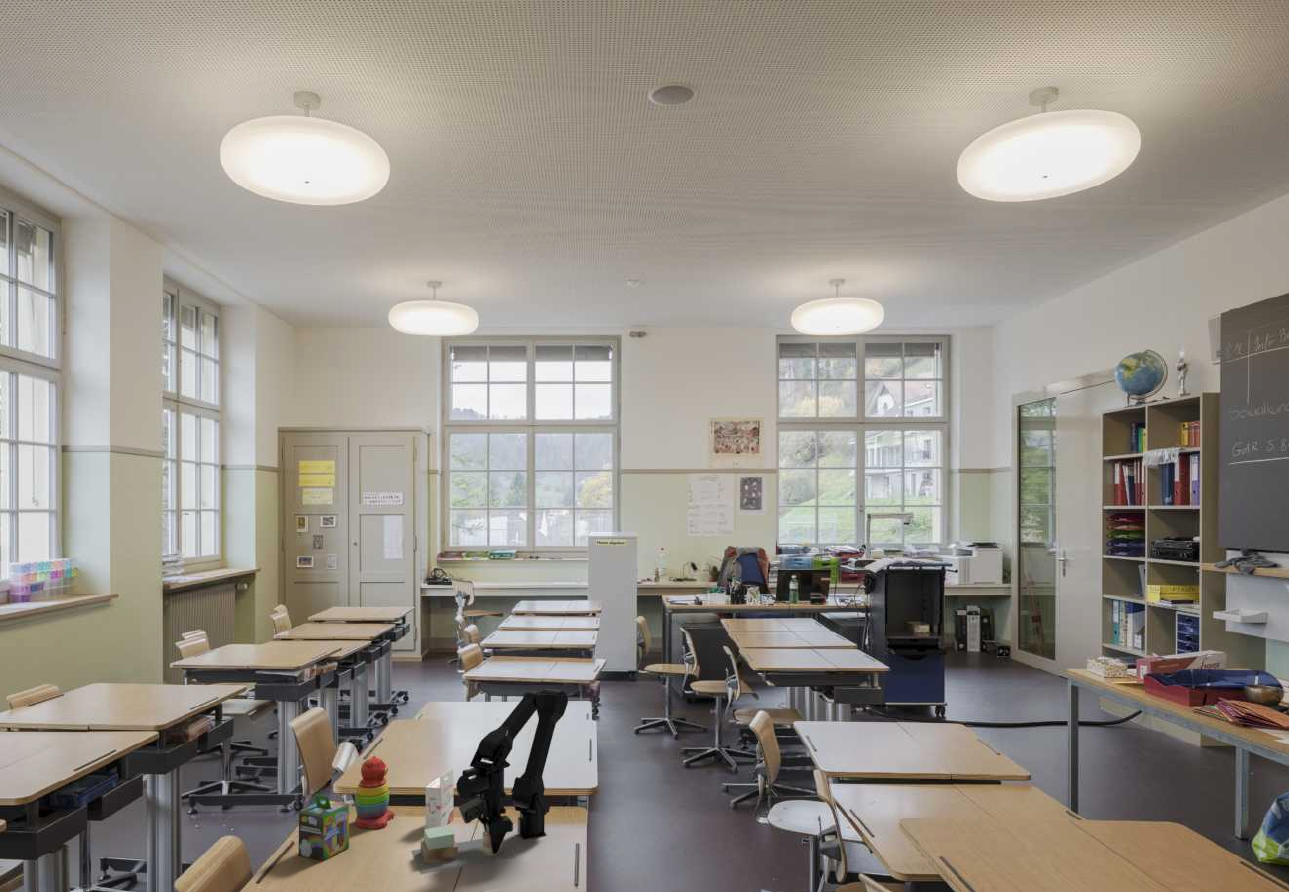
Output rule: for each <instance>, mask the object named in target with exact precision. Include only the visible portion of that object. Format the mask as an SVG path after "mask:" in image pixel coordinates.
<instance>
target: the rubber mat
mask: <svg viewBox="0 0 1289 892" xmlns="http://www.w3.org/2000/svg"><path fill="white" fill-rule="evenodd" d="M455 843H456V844H457V846H458V859H454V860H448V861H442V862H437V863H431V864H425V862H424V860H423V857H422V855H421V848H420V849H413V850H411V853H412V855H413V856H412V857H413V858H414V861H415V863H416V866H417V868H418V871H419V873H420V875H424V874H429V873H434V872H435V873H436V872H439V871H440V872H441V871H446V870H450V869H451V870H452V869H458V868H462V867H466V866H467V867H469V866H473V865H474V866H475V865H479V864H485V863H490V862H496V861H501V860H506V859H512V858H517V856H516V854H515V852H513V850H512V848H511V847H510V845H509V844H508V842H507V841H506V840H505V838H504V839H503V841H502V853H501V854H500V855H498V856H494V857H487V856H484V855H483V838H480V839H472V840H466V841H461V842H455Z"/></svg>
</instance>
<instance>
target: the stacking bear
mask: <svg viewBox="0 0 1289 892" xmlns="http://www.w3.org/2000/svg"><path fill="white" fill-rule="evenodd" d="M360 768H361V769H360V774H361V776H362V779H361V780H360V781H359V783H358V785H357V787H356V793H355V796H354V806H355V807H354V808H355V811H356V812H355V813H356V815H357V816H356V817H355V823H354V824H355V825H356V826H357V827H359V828H362V829H363V828H364V829H369V830H370V829H371V830H372V829H374V830H376V829H377V830H378V829H379V830H380V829H383V828H386V827H387V826H388V821H390V820H392V819H394V817H395V816H396V815H395V812H394V810H391V809H388V806H389V802H390V792H389V785H388V783H387V779H386V778H385V776H386V775H387V773H388V771H389V768H388V765H387V764H386V763H385V762H384V761H383V760H382V759H381V758H379V757H376V756H375V755H374V756H372V757H371V758H368V759H366V760H365V761H364V762H363V763H362V765H361V767H360ZM391 818H392V819H391ZM389 819H390V820H389Z"/></svg>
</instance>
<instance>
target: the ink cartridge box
mask: <svg viewBox="0 0 1289 892" xmlns="http://www.w3.org/2000/svg"><path fill="white" fill-rule="evenodd" d="M447 776H448V777H447ZM454 783H455V782H454V770H453V768H450V769H449V770H447V771H446V772H444V773H443V774H442V775H440V777H437V778H436V779H435V780H433V781H432V782H430V783H429V784H428V785H427V786H425V788H424V789H425V829H428V828H434V827H441V826H447V825H449V824H450V823H451V822H452V821H453V820H454V786H455V784H454Z"/></svg>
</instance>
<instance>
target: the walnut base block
mask: <svg viewBox="0 0 1289 892" xmlns="http://www.w3.org/2000/svg"><path fill="white" fill-rule="evenodd" d="M456 843H457V842H456V841H455V840H454V846H452V847H446V848H440V849H434V850H429V851H428V849H427V846H426V844H425V842H424V839H421V840H420V849H421V855H422V857H423V860H424V862H425V864H431V863H437V862H442V861H448V860H454V859H458V846H457V844H456Z"/></svg>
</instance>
